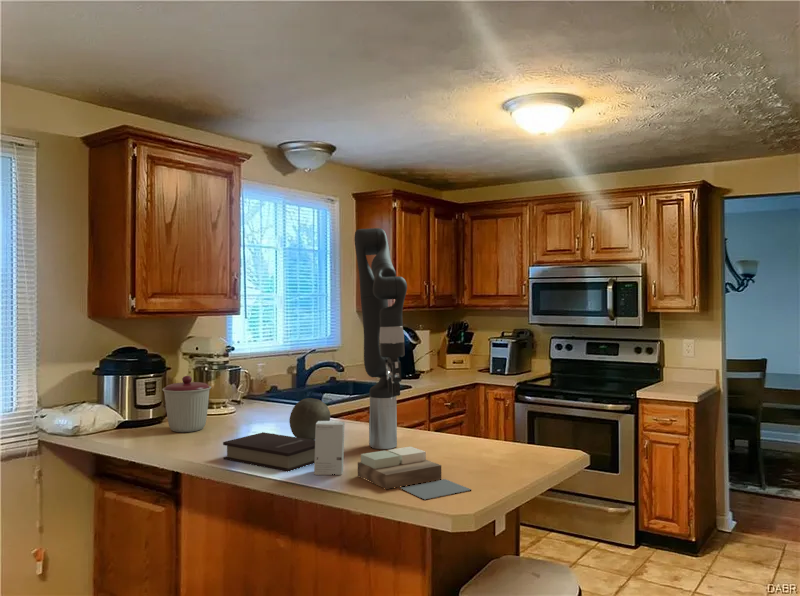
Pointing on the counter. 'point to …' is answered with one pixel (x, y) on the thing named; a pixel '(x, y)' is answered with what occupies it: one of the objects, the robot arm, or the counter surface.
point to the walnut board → (401, 474)
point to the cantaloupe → (308, 417)
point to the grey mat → (435, 489)
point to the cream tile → (409, 454)
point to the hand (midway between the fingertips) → (394, 394)
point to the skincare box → (329, 448)
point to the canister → (187, 405)
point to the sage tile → (379, 459)
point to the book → (271, 451)
